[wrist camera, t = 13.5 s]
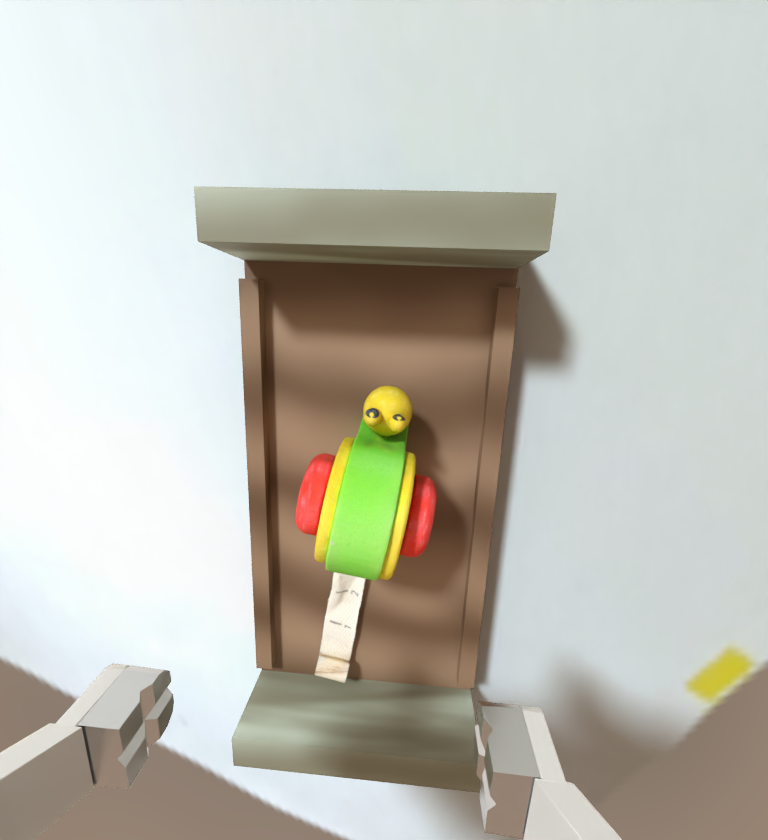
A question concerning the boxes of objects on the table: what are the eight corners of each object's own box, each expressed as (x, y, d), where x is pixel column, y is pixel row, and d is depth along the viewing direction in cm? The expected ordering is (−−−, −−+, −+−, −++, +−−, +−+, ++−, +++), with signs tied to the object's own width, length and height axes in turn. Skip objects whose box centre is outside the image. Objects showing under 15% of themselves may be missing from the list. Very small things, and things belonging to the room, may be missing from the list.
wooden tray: (254, 225, 21) (193, 186, 15) (514, 232, 20) (556, 193, 14) (270, 674, 28) (233, 765, 22) (464, 693, 27) (479, 792, 21)
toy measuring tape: (453, 392, 21) (471, 421, 15) (378, 675, 26) (367, 790, 19) (338, 367, 21) (306, 383, 15) (285, 653, 26) (243, 760, 19)
